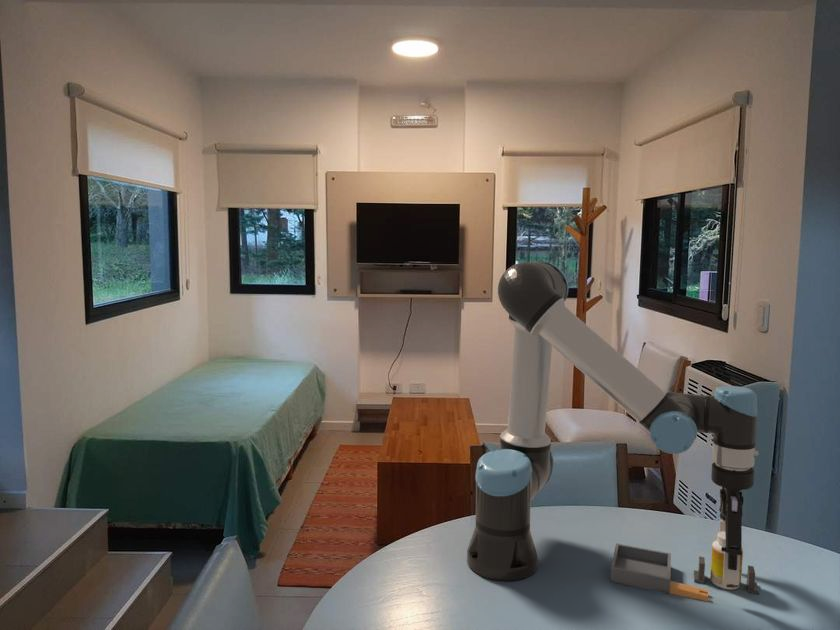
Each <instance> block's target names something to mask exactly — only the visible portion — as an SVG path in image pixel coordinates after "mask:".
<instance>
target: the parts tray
mask: <svg viewBox="0 0 840 630" xmlns="http://www.w3.org/2000/svg"><path fill="white" fill-rule="evenodd" d="M671 560H672V553H671V552H665V551H660V550H653V549H650V548H649V549H648V548H643V547H639V546H638V547H637V546H633V545H627V544H622V543H615V547H614V551H613V556H612V561H611V567H610V577H609V578H610V580H609V581H610V583H615V584H620V585H623V586H629V587H632V588H633V587H634V588H639V589H643V590H648V591H652V592H653V591H654V592H659V593H663V594H666V595H667V594H668V595H670V594H671V593H670V581H671V570H672V569H671V567H672V566H671V565H672V563H671V562H672V561H671Z"/></svg>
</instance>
